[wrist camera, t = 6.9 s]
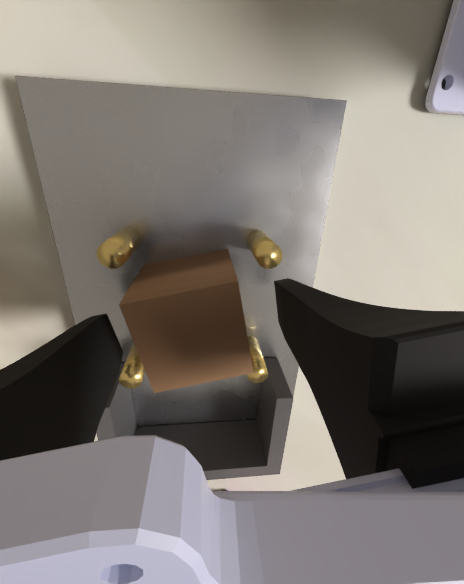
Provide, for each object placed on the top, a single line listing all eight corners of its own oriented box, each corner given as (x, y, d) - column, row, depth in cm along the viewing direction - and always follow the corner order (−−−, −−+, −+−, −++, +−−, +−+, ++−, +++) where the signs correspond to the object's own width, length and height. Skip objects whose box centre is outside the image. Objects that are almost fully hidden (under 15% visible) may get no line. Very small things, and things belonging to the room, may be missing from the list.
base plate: (35, 85, 10) (-47, 44, 7) (332, 107, 12) (386, 81, 8) (110, 429, 18) (89, 488, 15) (281, 418, 19) (298, 470, 16)
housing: (111, 363, 14) (90, 408, 12) (277, 357, 15) (293, 398, 13) (125, 436, 17) (110, 488, 14) (267, 427, 18) (279, 473, 15)
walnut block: (143, 265, 12) (118, 304, 9) (227, 248, 12) (238, 281, 9) (166, 335, 14) (153, 393, 10) (240, 320, 14) (253, 372, 11)
